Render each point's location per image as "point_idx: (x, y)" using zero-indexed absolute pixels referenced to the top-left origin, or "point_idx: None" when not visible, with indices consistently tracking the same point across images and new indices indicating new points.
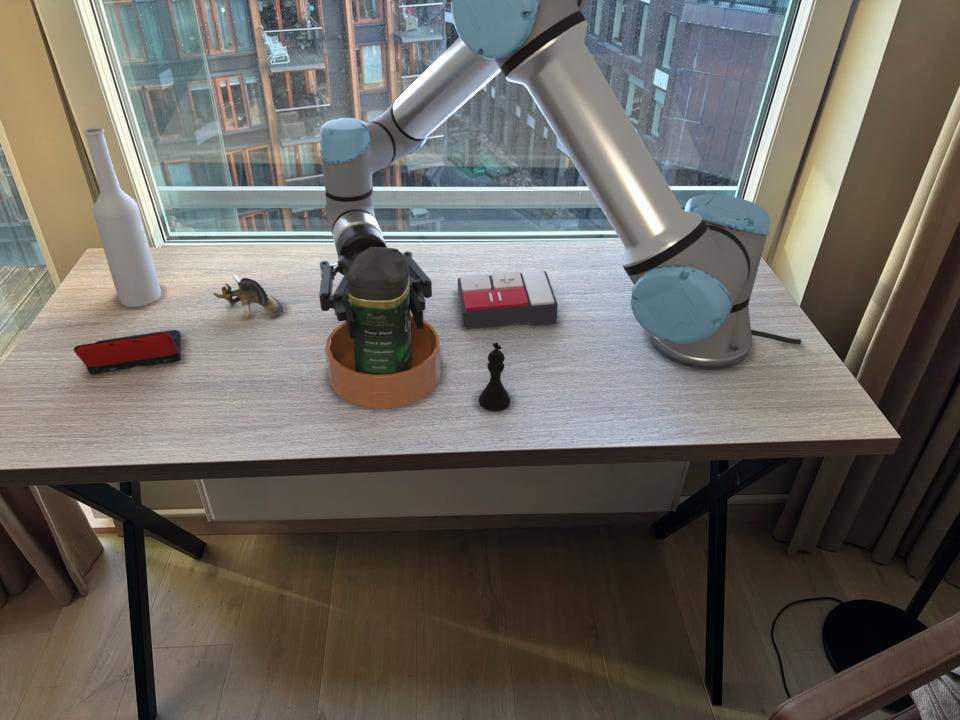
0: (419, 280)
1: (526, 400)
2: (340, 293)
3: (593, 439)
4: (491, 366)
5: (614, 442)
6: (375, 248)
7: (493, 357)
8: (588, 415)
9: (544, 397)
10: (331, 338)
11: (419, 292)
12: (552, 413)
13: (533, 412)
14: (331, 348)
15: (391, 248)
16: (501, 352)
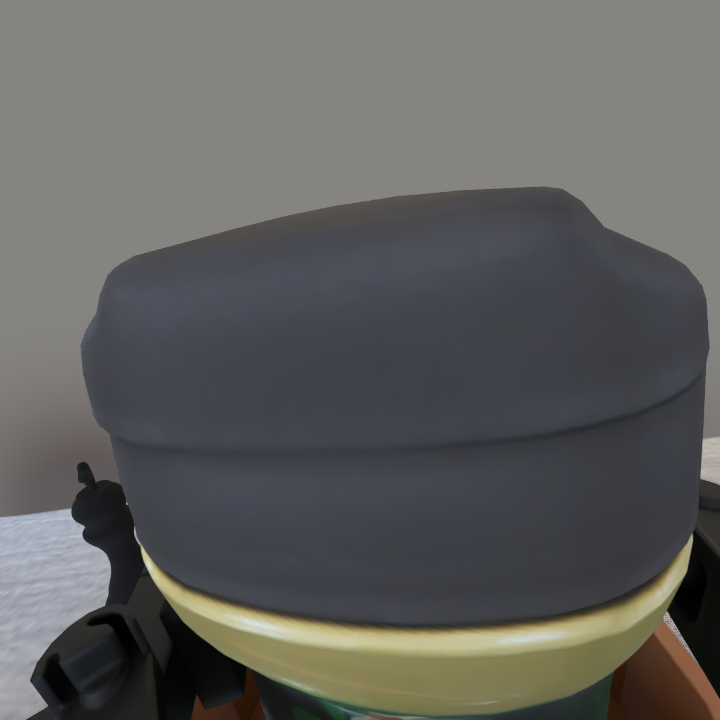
0: (54, 644)
1: (76, 613)
2: (698, 510)
3: (69, 516)
4: (126, 507)
5: (47, 513)
6: (427, 197)
7: (113, 482)
8: (9, 569)
9: (26, 626)
10: (710, 714)
11: (138, 617)
12: (66, 572)
13: (98, 573)
14: (681, 708)
15: (191, 244)
16: (81, 490)
